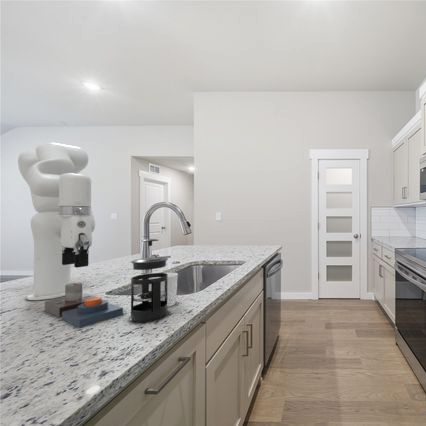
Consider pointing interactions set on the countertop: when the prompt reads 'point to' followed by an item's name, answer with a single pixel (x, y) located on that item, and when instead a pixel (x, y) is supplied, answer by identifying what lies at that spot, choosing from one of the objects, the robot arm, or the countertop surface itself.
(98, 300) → the release button
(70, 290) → the lock knob
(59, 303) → the panel
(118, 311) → the button block
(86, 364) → the countertop surface
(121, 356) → the countertop surface
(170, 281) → the white cup
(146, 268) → the french press
